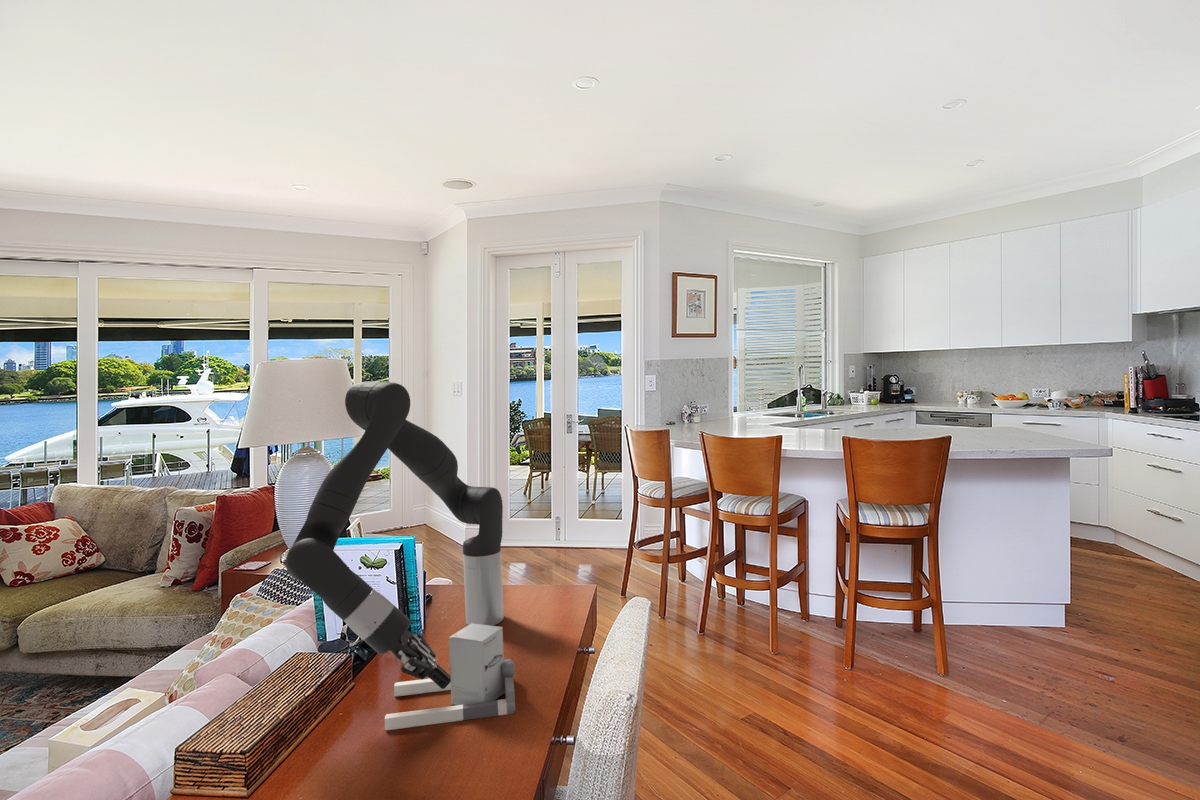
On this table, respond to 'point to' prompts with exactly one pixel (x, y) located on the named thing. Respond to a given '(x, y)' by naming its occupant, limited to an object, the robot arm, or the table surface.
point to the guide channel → (451, 711)
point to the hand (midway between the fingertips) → (447, 683)
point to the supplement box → (476, 664)
